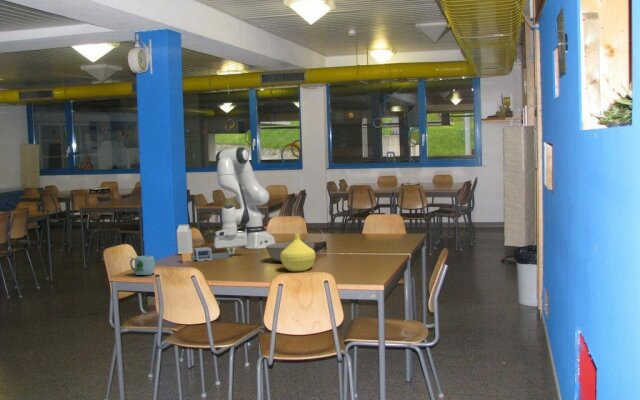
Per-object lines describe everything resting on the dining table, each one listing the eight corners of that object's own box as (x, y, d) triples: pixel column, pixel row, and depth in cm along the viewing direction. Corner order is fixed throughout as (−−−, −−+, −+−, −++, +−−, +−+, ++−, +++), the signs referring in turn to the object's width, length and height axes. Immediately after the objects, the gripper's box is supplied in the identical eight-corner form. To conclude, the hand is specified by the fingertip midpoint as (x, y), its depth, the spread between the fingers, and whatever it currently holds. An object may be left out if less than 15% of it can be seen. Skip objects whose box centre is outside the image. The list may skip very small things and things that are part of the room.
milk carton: (188, 254, 427) (186, 225, 426) (178, 255, 429) (176, 225, 427) (192, 253, 434) (190, 223, 433) (182, 253, 436) (180, 224, 434)
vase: (288, 266, 362) (286, 231, 361) (320, 266, 357) (318, 231, 356) (276, 273, 345) (274, 236, 344) (310, 273, 340) (308, 235, 338)
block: (190, 260, 403) (190, 252, 402) (191, 261, 398) (190, 253, 398) (182, 261, 402) (181, 253, 401) (182, 262, 397) (182, 254, 396)
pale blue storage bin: (209, 258, 409) (208, 246, 408) (212, 260, 400) (211, 248, 400) (194, 259, 406) (193, 248, 405) (196, 261, 397) (196, 250, 397)
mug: (124, 276, 359) (123, 258, 358) (137, 272, 369) (135, 254, 368) (148, 277, 353) (146, 258, 352) (160, 273, 363) (159, 254, 363)
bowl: (304, 265, 365) (303, 247, 365) (258, 264, 375) (257, 247, 374) (321, 256, 391) (320, 239, 390) (278, 256, 401) (277, 240, 400)
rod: (229, 257, 408) (228, 252, 408) (229, 257, 405) (229, 252, 405) (190, 260, 402) (190, 255, 402) (191, 261, 400) (190, 256, 399)
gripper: (245, 229, 414) (247, 252, 415) (212, 232, 407) (214, 255, 408) (247, 230, 408) (249, 253, 409) (214, 233, 401) (215, 256, 402)
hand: (231, 254), depth 408 cm, fingers closed
